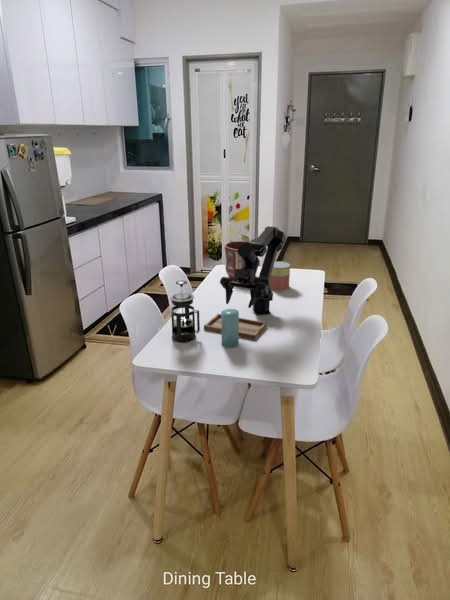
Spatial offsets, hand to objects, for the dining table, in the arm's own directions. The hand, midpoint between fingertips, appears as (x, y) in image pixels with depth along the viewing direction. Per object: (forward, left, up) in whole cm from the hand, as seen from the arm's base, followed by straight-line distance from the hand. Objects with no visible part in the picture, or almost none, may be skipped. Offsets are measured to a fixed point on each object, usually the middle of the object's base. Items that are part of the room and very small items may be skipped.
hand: (237, 305), depth 165 cm
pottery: (-18, -69, -13) cm, 73 cm away
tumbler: (+4, +6, -13) cm, 15 cm away
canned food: (-33, -50, -13) cm, 61 cm away
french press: (+20, -3, -13) cm, 24 cm away
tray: (-1, -7, -13) cm, 15 cm away
